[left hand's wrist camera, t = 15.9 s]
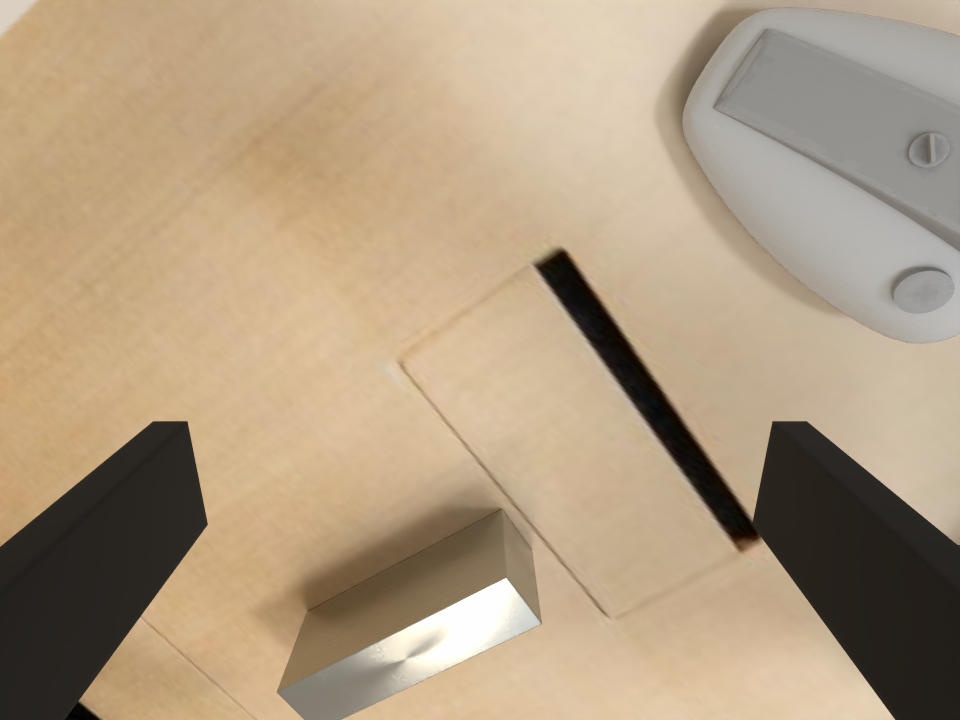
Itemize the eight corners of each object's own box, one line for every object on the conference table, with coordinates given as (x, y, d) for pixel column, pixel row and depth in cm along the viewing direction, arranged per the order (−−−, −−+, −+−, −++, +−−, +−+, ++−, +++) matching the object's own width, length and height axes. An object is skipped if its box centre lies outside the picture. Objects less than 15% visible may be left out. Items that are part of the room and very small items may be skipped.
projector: (1020, -76, 34) (1382, -229, 21) (1016, 280, 42) (1279, 342, 28) (660, 48, 37) (769, -16, 23) (717, 364, 44) (826, 459, 30)
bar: (502, 508, 49) (506, 576, 41) (532, 550, 50) (542, 624, 42) (306, 611, 53) (276, 692, 45) (340, 647, 54) (316, 731, 46)
